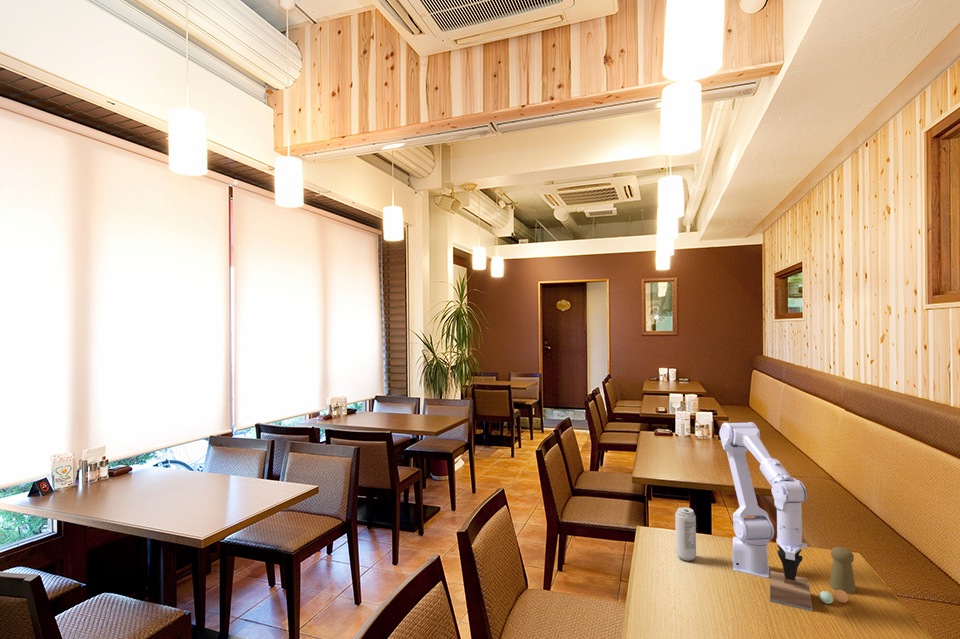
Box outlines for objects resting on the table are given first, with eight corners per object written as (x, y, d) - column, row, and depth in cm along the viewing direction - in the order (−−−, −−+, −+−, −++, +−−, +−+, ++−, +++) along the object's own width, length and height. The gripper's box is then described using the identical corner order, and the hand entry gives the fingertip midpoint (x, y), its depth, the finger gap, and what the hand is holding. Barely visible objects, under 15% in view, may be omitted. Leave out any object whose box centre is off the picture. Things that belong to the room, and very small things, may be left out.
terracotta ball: (835, 603, 131) (834, 591, 131) (833, 597, 134) (833, 586, 134) (849, 606, 129) (849, 594, 129) (847, 600, 132) (847, 589, 132)
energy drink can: (687, 551, 161) (687, 505, 161) (700, 559, 155) (699, 512, 156) (671, 553, 160) (671, 507, 160) (684, 562, 154) (683, 514, 154)
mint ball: (820, 604, 131) (819, 592, 131) (819, 598, 133) (818, 587, 133) (833, 607, 129) (833, 595, 129) (832, 601, 132) (832, 590, 132)
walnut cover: (810, 608, 128) (810, 582, 128) (770, 598, 132) (770, 573, 132) (808, 592, 135) (808, 567, 135) (770, 583, 140) (770, 560, 140)
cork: (861, 595, 135) (860, 554, 135) (836, 592, 136) (835, 552, 136) (849, 583, 141) (848, 545, 141) (825, 581, 142) (824, 543, 142)
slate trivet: (769, 601, 132) (769, 599, 132) (770, 584, 140) (770, 583, 140) (812, 611, 127) (812, 609, 127) (810, 594, 135) (810, 592, 135)
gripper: (808, 538, 126) (809, 592, 126) (805, 519, 138) (806, 567, 138) (776, 532, 129) (776, 584, 129) (776, 514, 142) (776, 561, 142)
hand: (789, 575), depth 134 cm, fingers open, 4 cm apart
